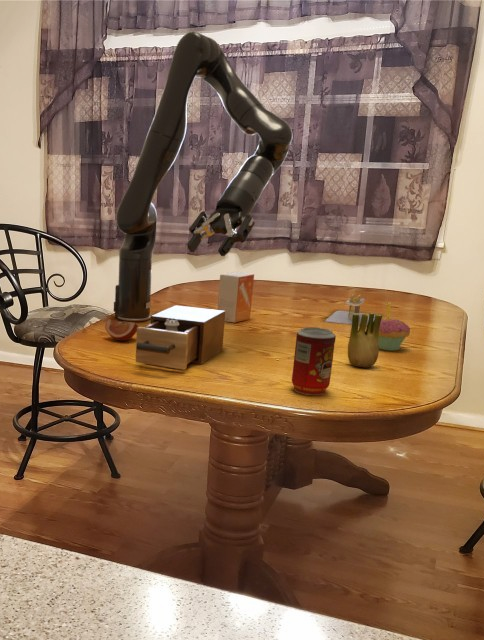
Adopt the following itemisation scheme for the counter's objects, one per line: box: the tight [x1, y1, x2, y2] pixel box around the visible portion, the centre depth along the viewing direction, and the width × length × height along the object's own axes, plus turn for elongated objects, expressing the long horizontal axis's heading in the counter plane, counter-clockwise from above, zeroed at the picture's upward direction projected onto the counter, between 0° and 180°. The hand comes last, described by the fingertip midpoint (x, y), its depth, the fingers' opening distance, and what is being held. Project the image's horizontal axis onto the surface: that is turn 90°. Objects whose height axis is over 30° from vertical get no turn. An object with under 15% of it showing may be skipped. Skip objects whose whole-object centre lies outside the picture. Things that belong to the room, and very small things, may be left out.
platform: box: [325, 293, 377, 327], centre depth 198 cm, size 12×18×7 cm, turn 148°
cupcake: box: [379, 301, 411, 352], centre depth 164 cm, size 9×8×12 cm
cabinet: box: [150, 304, 226, 365], centre depth 160 cm, size 15×13×10 cm
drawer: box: [135, 320, 201, 371], centre depth 150 cm, size 18×11×8 cm, turn 149°
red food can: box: [291, 326, 336, 396], centre depth 133 cm, size 7×7×12 cm
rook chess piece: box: [165, 318, 179, 332], centre depth 151 cm, size 4×4×8 cm
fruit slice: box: [104, 318, 139, 342], centre depth 173 cm, size 8×7×5 cm
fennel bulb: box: [347, 311, 383, 369], centre depth 150 cm, size 6×5×12 cm
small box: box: [217, 271, 255, 323], centre depth 195 cm, size 8×6×13 cm
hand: (205, 251), depth 152 cm, fingers open, 8 cm apart
